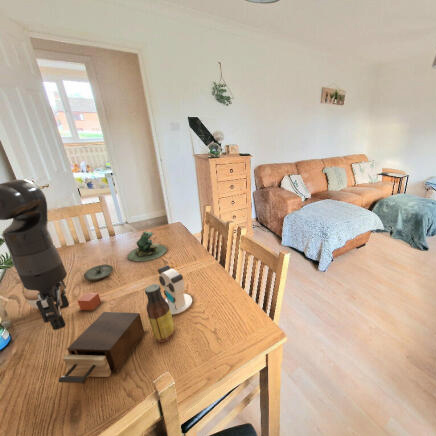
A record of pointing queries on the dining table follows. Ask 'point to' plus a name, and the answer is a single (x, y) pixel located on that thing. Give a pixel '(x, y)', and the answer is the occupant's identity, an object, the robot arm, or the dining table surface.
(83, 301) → the block
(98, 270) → the lid
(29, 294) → the trinket box
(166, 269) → the panda figurine
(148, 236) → the frog figurine
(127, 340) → the cabinet
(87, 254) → the dining table surface
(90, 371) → the drawer
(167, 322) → the sauce bottle
